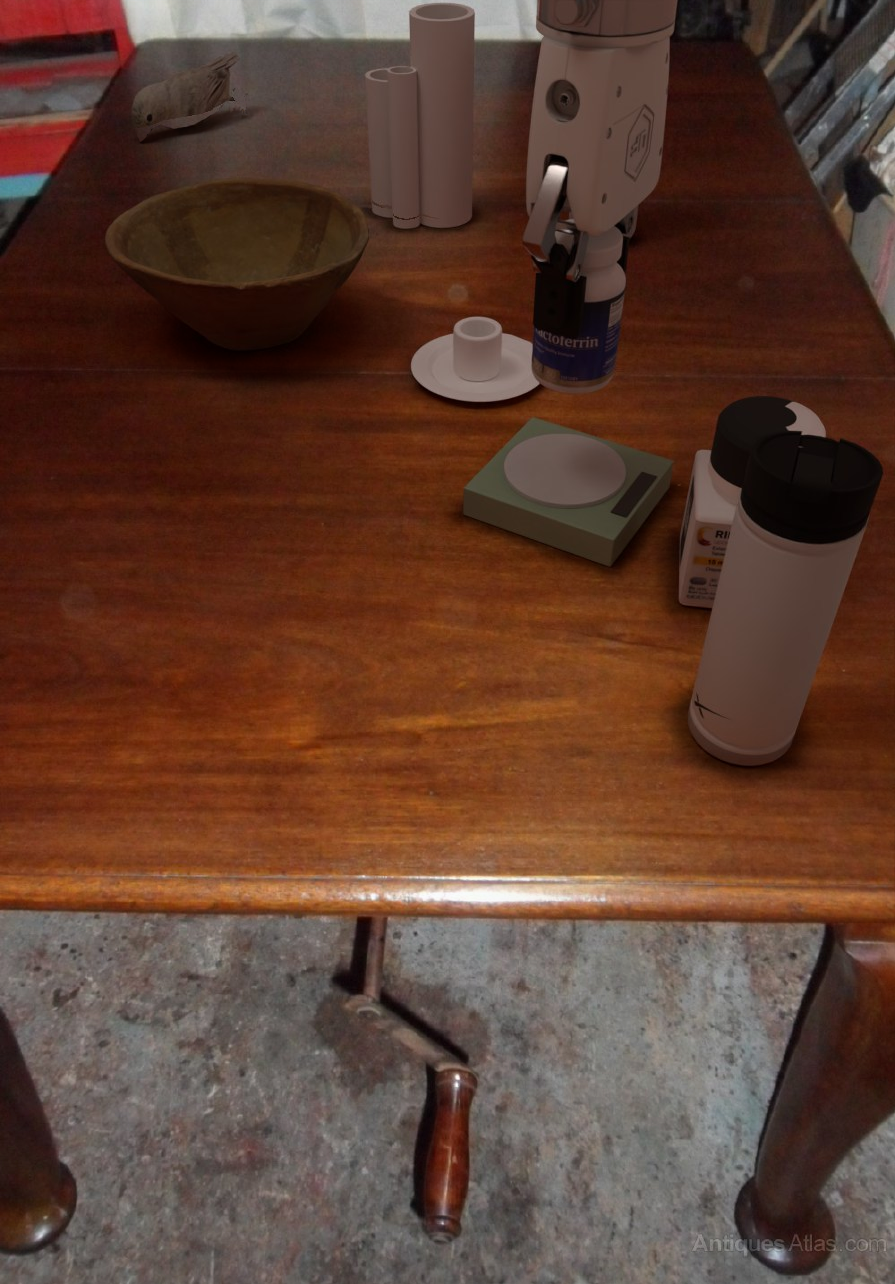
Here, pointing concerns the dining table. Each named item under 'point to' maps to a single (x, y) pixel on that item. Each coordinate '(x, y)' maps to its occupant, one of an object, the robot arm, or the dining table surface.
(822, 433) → the container
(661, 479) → the scale
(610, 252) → the pill bottle
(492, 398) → the candle holder
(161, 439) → the dining table surface
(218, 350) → the dining table surface
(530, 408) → the dining table surface
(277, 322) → the bowl
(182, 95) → the decorative bird
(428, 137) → the vase
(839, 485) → the travel mug
